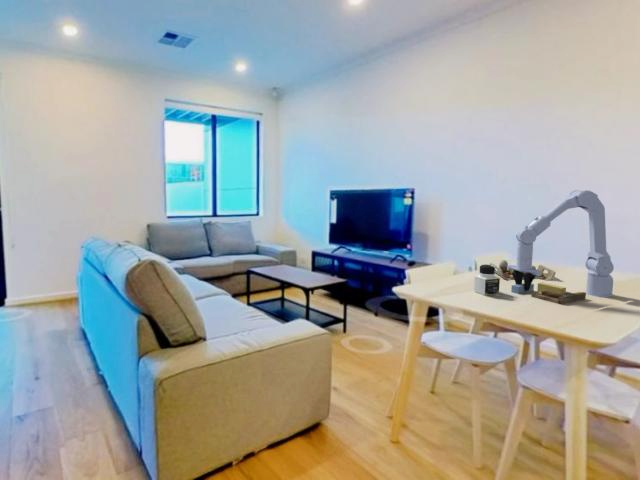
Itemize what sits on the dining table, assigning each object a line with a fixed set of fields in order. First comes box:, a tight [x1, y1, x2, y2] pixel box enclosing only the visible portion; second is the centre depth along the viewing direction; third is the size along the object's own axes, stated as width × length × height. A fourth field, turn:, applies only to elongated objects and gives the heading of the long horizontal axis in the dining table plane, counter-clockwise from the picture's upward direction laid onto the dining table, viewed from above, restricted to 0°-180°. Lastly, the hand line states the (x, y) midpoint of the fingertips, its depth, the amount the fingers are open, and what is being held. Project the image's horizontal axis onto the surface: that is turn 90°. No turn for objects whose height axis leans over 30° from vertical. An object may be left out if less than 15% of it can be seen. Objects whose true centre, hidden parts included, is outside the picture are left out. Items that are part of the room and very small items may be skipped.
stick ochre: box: [536, 282, 567, 295], centre depth 161 cm, size 10×3×4 cm, turn 26°
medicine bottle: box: [473, 264, 501, 297], centre depth 165 cm, size 7×7×12 cm
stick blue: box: [511, 282, 535, 295], centre depth 165 cm, size 10×3×4 cm, turn 116°
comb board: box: [530, 291, 587, 305], centre depth 155 cm, size 12×15×3 cm
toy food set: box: [489, 259, 556, 282], centre depth 196 cm, size 25×18×8 cm
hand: (522, 289), depth 165 cm, fingers closed on stick blue, 3 cm apart
